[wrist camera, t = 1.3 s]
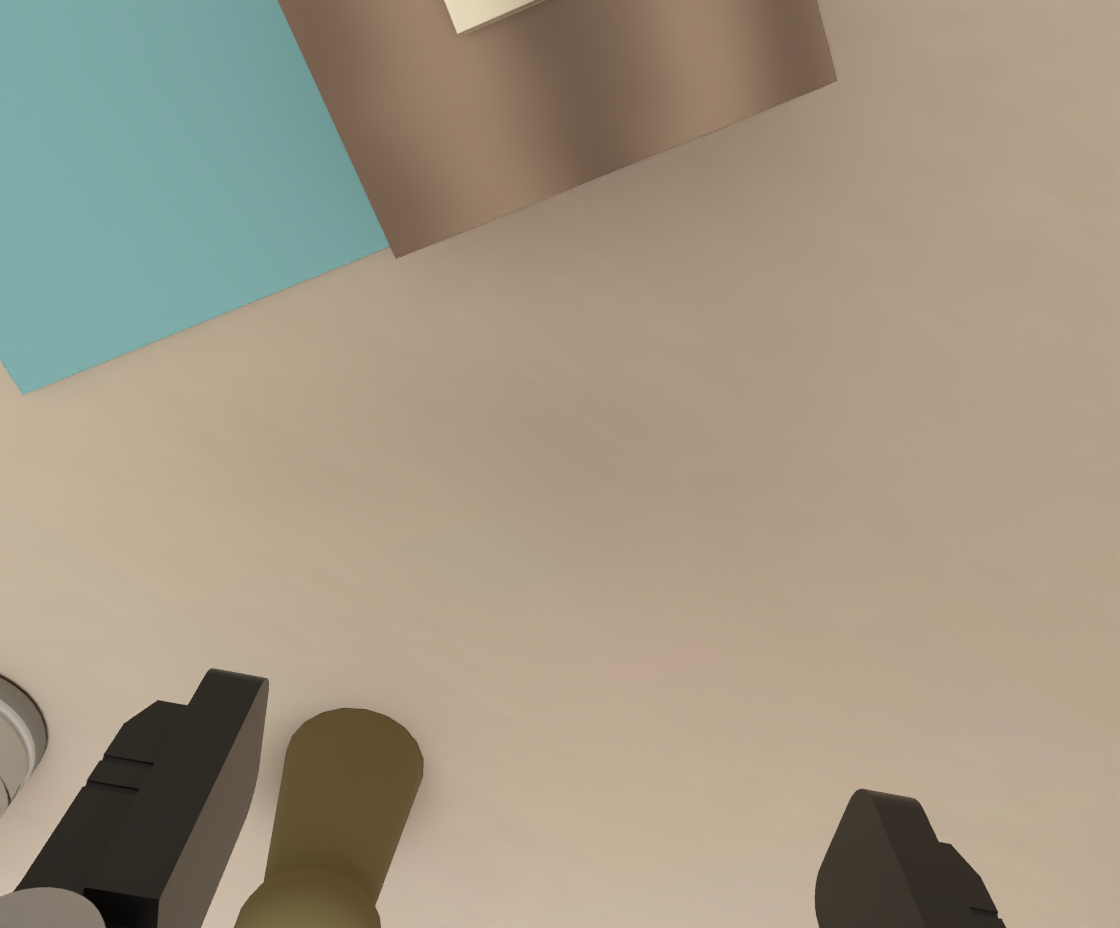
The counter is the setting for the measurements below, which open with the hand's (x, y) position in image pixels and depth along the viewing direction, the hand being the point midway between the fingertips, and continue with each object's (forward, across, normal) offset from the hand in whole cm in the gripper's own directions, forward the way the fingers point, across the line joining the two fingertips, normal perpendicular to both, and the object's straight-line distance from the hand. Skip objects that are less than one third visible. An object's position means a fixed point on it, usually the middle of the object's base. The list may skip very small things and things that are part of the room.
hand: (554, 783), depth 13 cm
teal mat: (+23, +17, -4) cm, 29 cm away
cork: (+24, +4, +21) cm, 32 cm away
